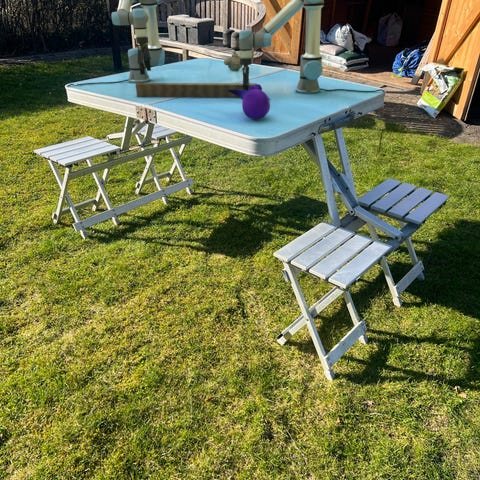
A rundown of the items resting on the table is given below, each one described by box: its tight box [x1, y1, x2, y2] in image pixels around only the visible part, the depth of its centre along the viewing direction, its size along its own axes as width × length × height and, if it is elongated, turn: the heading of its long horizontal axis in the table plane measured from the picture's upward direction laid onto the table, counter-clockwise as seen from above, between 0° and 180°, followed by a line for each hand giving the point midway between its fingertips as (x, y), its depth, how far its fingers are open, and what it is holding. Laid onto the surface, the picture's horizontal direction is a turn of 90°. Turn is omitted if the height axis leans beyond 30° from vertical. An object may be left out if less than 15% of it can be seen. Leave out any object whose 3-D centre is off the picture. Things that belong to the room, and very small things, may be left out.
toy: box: [228, 83, 271, 121], centre depth 243 cm, size 16×18×27 cm
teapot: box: [223, 50, 244, 72], centre depth 366 cm, size 21×12×15 cm, turn 120°
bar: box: [135, 82, 258, 99], centre depth 290 cm, size 78×6×8 cm, turn 83°
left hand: (145, 72), depth 289 cm, fingers open, 13 cm apart
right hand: (246, 96), depth 288 cm, fingers closed on bar, 6 cm apart
